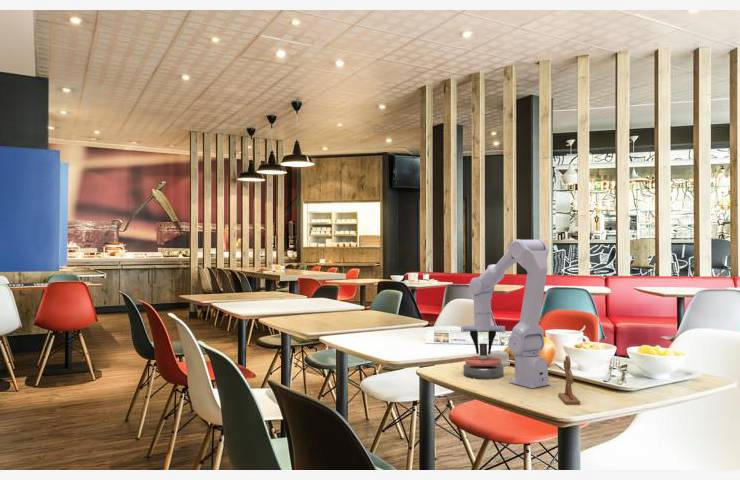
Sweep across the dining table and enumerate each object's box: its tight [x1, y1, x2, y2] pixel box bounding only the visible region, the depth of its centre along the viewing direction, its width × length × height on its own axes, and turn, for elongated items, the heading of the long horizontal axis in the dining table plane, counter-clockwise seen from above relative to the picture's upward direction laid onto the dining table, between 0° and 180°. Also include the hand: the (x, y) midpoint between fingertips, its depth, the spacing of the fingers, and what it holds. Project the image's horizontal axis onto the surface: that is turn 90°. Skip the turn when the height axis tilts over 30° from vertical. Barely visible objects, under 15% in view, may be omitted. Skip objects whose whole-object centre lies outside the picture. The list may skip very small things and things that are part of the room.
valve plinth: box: [462, 363, 505, 380], centre depth 184 cm, size 13×13×3 cm
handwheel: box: [464, 343, 501, 366], centre depth 184 cm, size 12×12×6 cm
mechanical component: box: [487, 350, 511, 367], centre depth 203 cm, size 10×4×10 cm
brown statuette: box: [557, 355, 581, 406], centre depth 150 cm, size 9×4×12 cm, turn 173°
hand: (483, 353), depth 188 cm, fingers open, 3 cm apart
